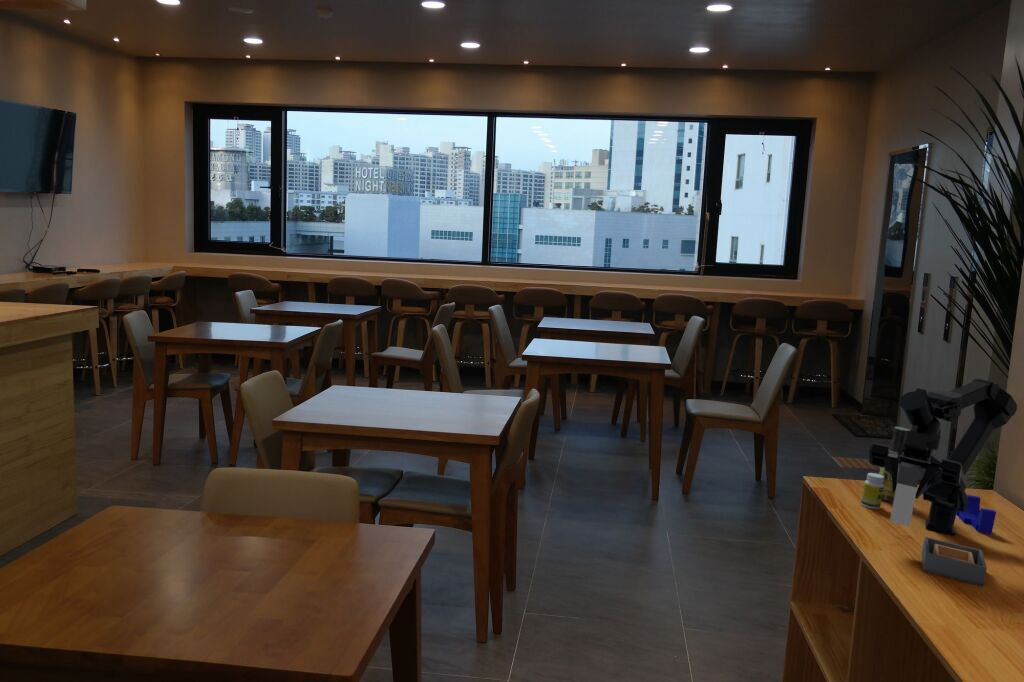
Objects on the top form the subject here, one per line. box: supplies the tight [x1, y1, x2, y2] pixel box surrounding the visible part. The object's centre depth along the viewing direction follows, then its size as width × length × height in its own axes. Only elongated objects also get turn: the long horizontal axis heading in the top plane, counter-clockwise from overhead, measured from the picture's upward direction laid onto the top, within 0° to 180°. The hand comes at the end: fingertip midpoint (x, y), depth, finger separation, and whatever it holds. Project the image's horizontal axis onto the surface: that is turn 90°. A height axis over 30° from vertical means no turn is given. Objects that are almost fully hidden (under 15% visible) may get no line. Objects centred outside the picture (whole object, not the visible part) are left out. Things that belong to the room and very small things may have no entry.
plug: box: [889, 462, 922, 527], centre depth 181 cm, size 4×4×13 cm
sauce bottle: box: [878, 426, 910, 503], centre depth 219 cm, size 6×6×20 cm
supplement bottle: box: [860, 472, 884, 510], centre depth 212 cm, size 5×5×8 cm
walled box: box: [921, 536, 988, 587], centre depth 175 cm, size 11×11×4 cm
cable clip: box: [956, 494, 997, 535], centre depth 207 cm, size 12×4×6 cm, turn 169°
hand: (904, 494), depth 180 cm, fingers closed on plug, 4 cm apart
